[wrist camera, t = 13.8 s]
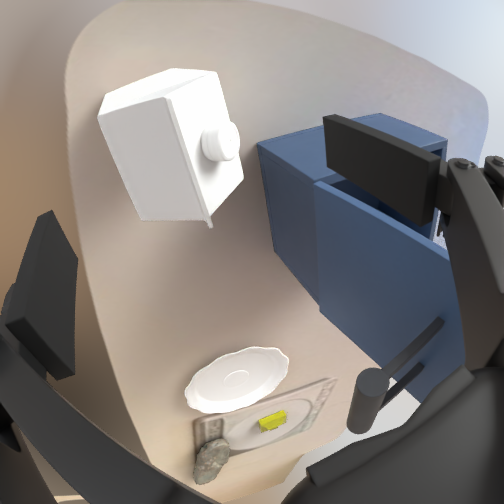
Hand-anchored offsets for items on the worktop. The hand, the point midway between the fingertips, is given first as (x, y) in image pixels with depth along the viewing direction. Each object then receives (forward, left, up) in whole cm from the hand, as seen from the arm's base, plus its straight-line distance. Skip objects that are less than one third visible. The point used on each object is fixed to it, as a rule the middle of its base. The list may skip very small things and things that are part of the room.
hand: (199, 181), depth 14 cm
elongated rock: (+88, -19, -20) cm, 92 cm away
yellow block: (+77, +3, -20) cm, 79 cm away
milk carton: (0, 0, -20) cm, 20 cm away
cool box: (+15, +20, -20) cm, 32 cm away
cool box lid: (+15, +12, +2) cm, 19 cm away
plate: (+49, -1, -20) cm, 53 cm away
